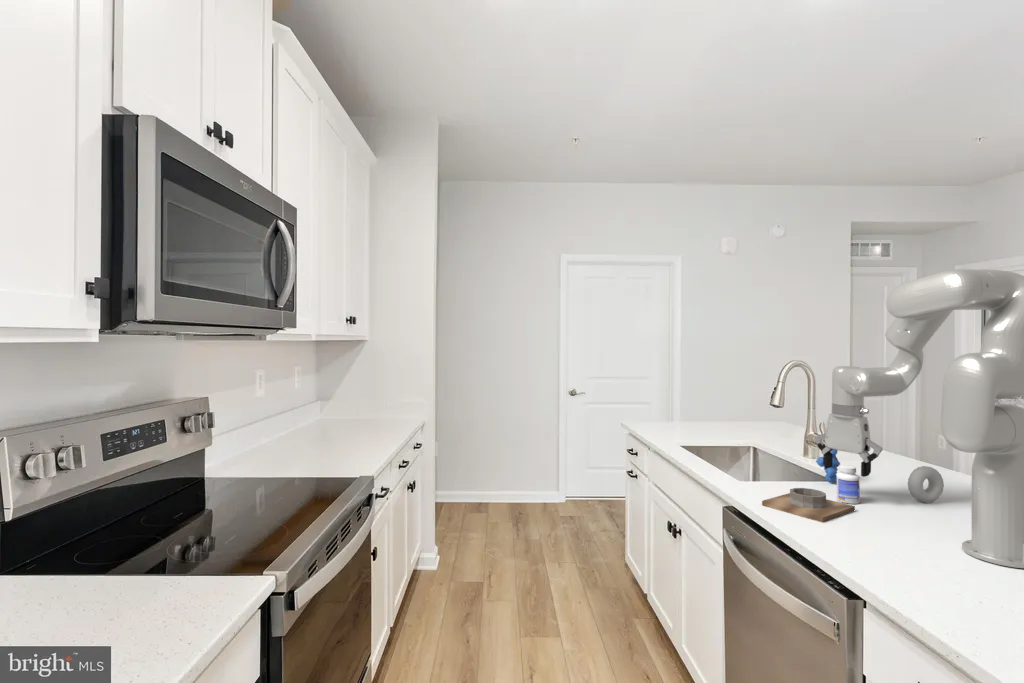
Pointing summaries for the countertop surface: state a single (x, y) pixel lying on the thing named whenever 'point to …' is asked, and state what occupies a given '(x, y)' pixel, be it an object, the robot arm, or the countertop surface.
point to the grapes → (831, 471)
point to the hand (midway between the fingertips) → (846, 471)
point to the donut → (933, 484)
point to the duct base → (809, 512)
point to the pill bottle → (848, 485)
